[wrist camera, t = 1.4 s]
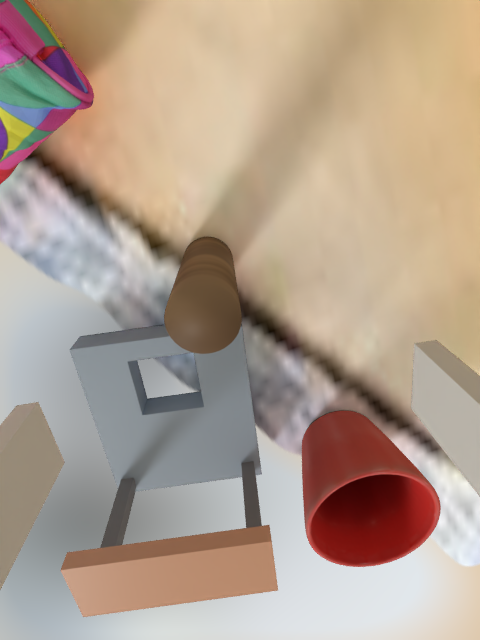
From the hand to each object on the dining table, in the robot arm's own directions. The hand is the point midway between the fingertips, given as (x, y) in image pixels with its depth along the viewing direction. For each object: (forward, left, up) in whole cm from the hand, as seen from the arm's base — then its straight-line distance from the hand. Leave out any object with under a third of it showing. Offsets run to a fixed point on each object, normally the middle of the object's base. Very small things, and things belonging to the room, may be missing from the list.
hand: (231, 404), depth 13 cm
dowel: (-1, -1, -19) cm, 19 cm away
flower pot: (+20, +9, -19) cm, 29 cm away
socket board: (+12, -6, -19) cm, 23 cm away
